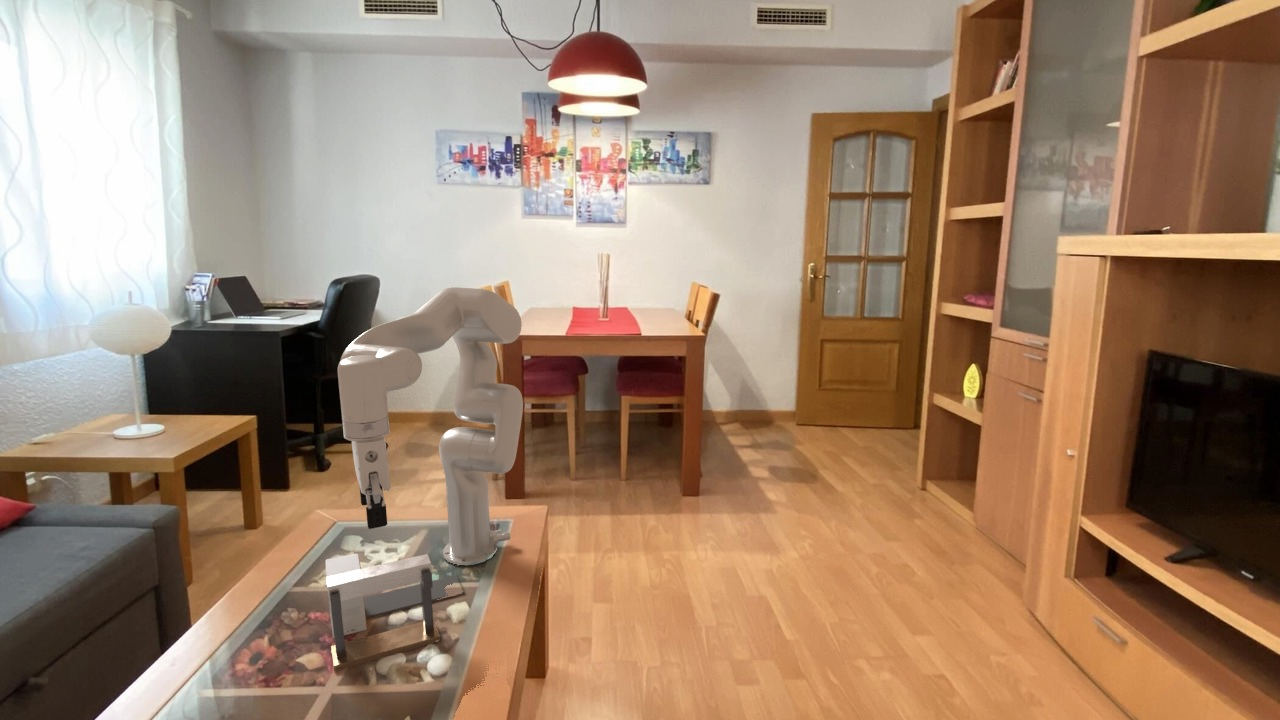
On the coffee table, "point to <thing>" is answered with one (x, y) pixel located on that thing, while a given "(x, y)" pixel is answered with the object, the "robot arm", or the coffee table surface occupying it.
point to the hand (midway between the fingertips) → (374, 514)
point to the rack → (383, 634)
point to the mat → (403, 598)
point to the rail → (378, 577)
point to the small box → (352, 607)
